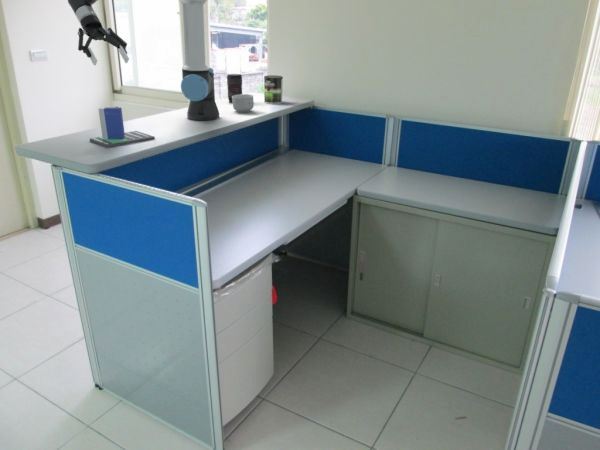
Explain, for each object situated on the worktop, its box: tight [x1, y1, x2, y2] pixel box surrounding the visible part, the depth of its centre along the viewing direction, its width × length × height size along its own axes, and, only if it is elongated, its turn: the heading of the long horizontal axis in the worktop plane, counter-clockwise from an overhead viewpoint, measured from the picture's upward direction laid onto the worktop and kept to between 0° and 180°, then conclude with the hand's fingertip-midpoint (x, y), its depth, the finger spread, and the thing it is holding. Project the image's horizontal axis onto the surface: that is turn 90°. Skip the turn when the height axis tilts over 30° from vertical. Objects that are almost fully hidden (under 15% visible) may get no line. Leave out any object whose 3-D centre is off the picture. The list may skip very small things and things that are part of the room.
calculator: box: [89, 130, 156, 149], centre depth 198 cm, size 20×14×1 cm
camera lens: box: [226, 73, 243, 104], centre depth 278 cm, size 8×8×15 cm
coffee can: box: [263, 74, 284, 105], centre depth 280 cm, size 10×10×14 cm
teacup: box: [231, 93, 254, 114], centre depth 257 cm, size 14×11×8 cm
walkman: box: [98, 106, 126, 139], centre depth 193 cm, size 8×3×12 cm, turn 94°
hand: (111, 62), depth 203 cm, fingers open, 13 cm apart
